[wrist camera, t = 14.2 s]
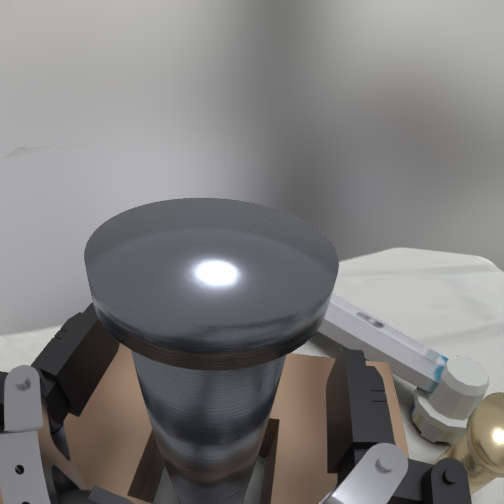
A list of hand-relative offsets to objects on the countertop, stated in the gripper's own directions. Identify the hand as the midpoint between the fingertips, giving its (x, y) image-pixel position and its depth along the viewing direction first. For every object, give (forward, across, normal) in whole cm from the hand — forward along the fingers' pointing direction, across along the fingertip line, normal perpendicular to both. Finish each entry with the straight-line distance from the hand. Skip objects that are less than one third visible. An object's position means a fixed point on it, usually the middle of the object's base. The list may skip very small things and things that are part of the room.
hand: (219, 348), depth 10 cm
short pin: (-2, -15, +11) cm, 19 cm away
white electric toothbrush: (+11, -10, +12) cm, 19 cm away
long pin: (-2, 0, +11) cm, 11 cm away
